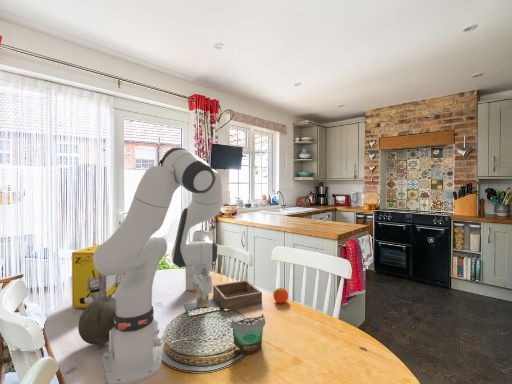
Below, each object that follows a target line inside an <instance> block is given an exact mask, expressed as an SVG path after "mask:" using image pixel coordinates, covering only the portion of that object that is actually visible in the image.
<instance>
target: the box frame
mask: <svg viewBox="0 0 512 384" xmlns="http://www.w3.org/2000/svg"><path fill="white" fill-rule="evenodd" d="M212 292H213V293H212V294H213V299H214V300H215V302H216V303H217V304H218V306H219V307H220V308H221V309H222V308H226V309H233V310H232V311H236V310H239V309H244V308H249V307H252V306H256V305H262V304H263V293H262V292H263V291H261V290H259V288H257V287H256V286H254V285H253V284H252V283H250V282H249V281H248V280H247V279H244V280H240V281H234V282H228V283H227V282H226V283H221V284H216V285H215V284H214V285H212ZM243 292H246V294H240V295H235V296H231V297H226V296H229V295H233V294H239V293H243Z"/></svg>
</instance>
